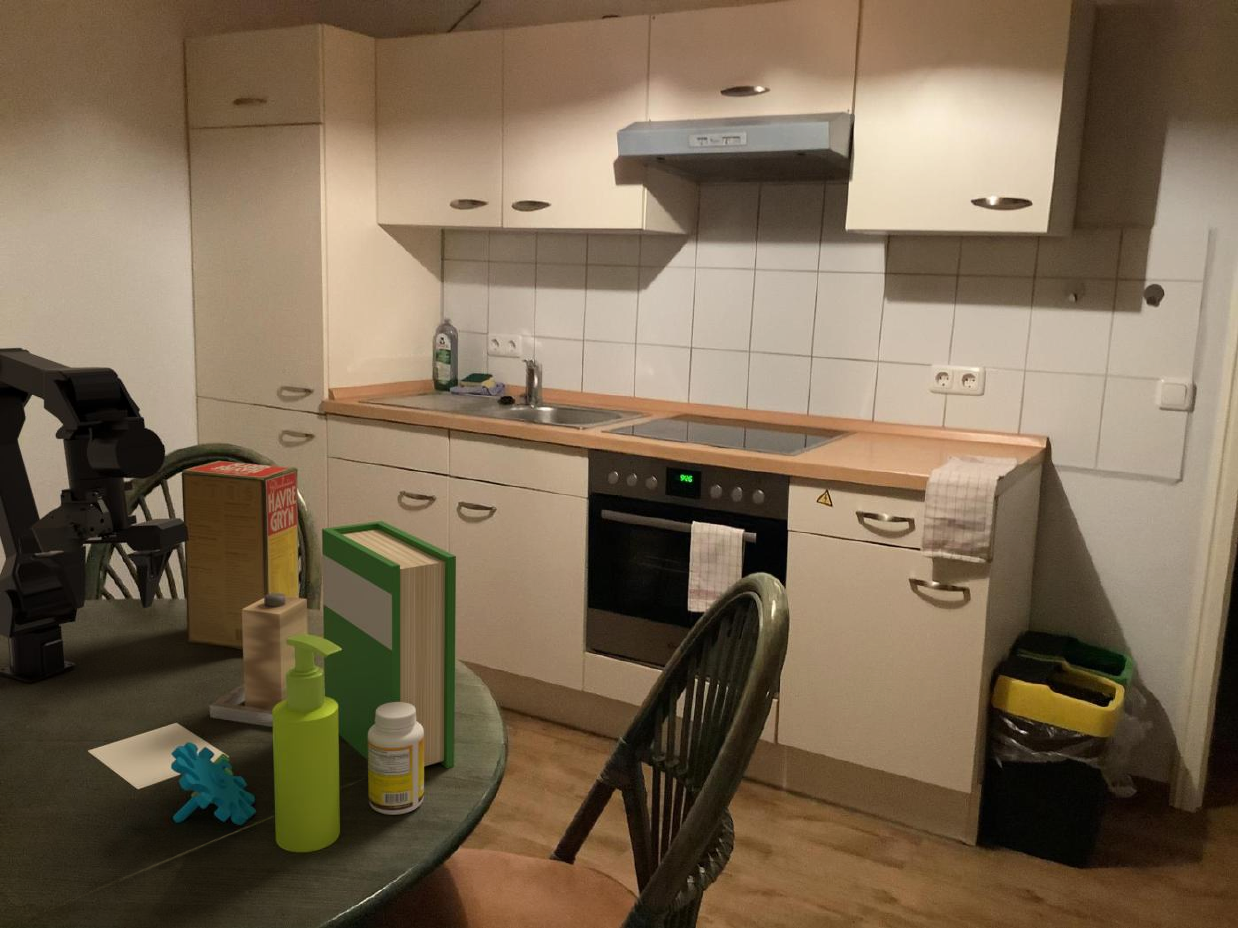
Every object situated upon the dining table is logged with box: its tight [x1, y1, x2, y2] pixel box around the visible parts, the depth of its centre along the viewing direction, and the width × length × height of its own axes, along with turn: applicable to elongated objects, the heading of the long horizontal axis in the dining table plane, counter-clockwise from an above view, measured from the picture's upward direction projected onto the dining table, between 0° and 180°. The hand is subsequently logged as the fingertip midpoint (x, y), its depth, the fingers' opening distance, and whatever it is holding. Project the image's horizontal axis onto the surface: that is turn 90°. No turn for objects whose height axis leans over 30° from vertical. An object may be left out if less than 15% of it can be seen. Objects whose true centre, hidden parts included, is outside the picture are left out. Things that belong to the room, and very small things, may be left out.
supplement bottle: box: [367, 702, 425, 816], centre depth 103 cm, size 6×6×10 cm
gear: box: [171, 742, 257, 826], centre depth 100 cm, size 11×6×10 cm
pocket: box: [209, 682, 325, 728], centre depth 125 cm, size 11×11×2 cm
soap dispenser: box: [272, 633, 342, 853], centre depth 96 cm, size 6×7×20 cm
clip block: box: [242, 593, 308, 710], centre depth 124 cm, size 5×6×14 cm
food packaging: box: [180, 460, 300, 650], centre depth 146 cm, size 13×9×25 cm
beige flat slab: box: [87, 722, 230, 790], centre depth 112 cm, size 12×10×1 cm
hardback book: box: [321, 520, 457, 769], centre depth 115 cm, size 18×7×24 cm, turn 39°
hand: (113, 607), depth 120 cm, fingers open, 9 cm apart
